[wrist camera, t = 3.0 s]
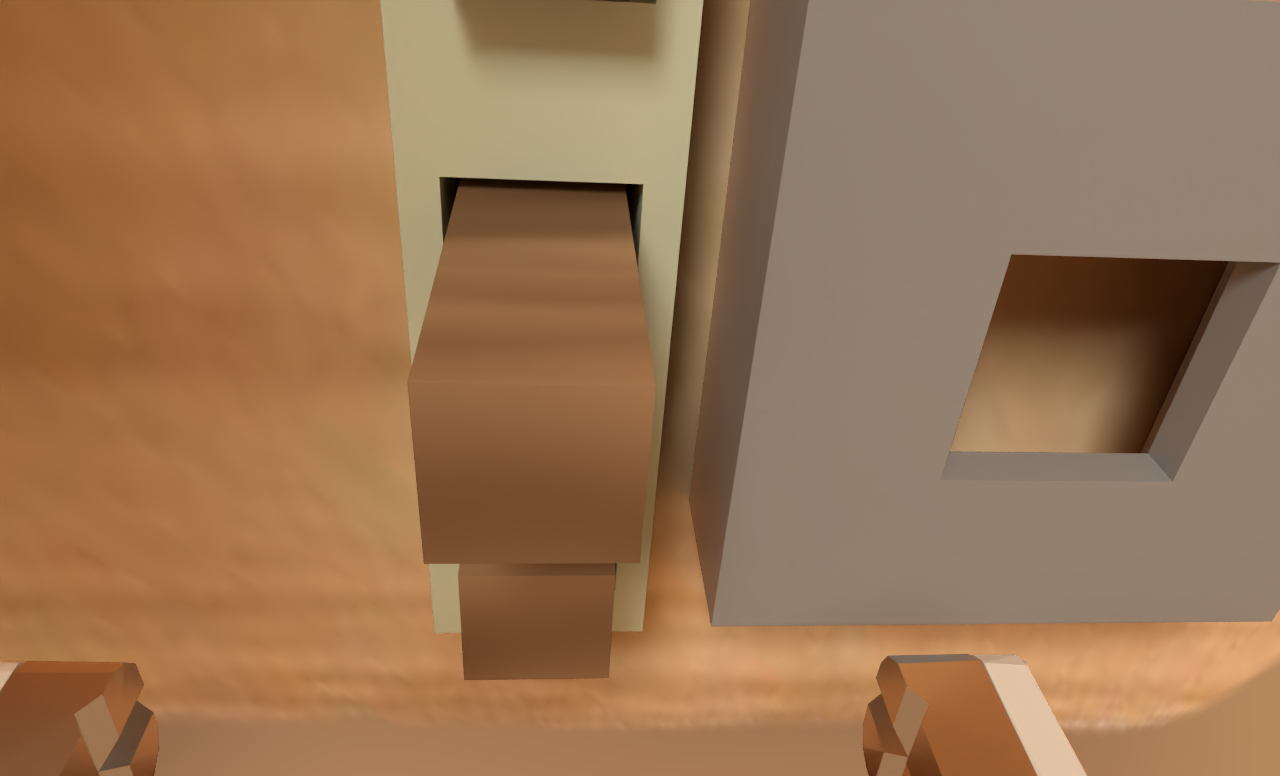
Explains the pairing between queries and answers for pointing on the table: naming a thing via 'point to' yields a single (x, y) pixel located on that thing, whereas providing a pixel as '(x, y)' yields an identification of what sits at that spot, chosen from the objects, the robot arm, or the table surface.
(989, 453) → the hole bridge
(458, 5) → the peg rack
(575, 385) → the pin long
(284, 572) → the table surface
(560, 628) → the pin medium
